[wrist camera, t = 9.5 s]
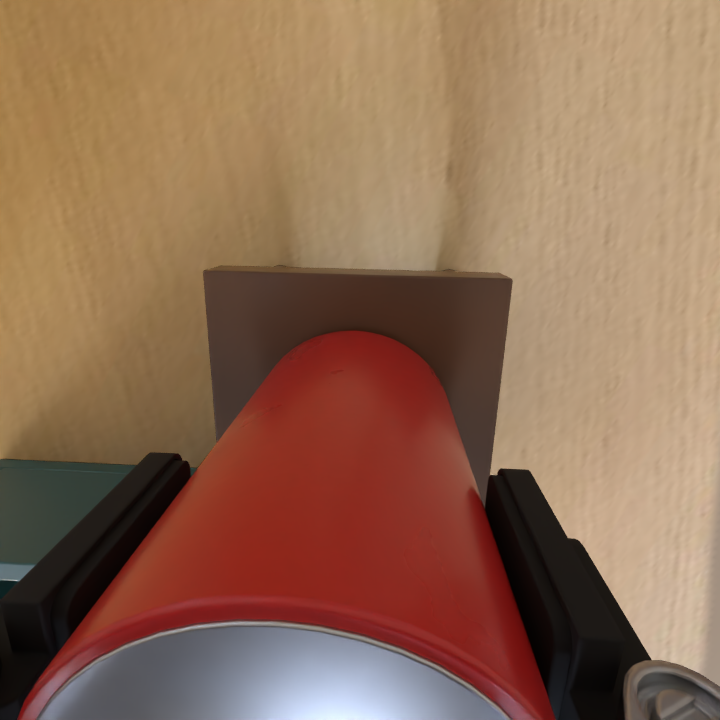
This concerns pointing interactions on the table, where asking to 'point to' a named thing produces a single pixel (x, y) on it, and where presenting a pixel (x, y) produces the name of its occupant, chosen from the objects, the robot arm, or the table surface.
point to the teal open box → (46, 508)
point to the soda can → (313, 568)
